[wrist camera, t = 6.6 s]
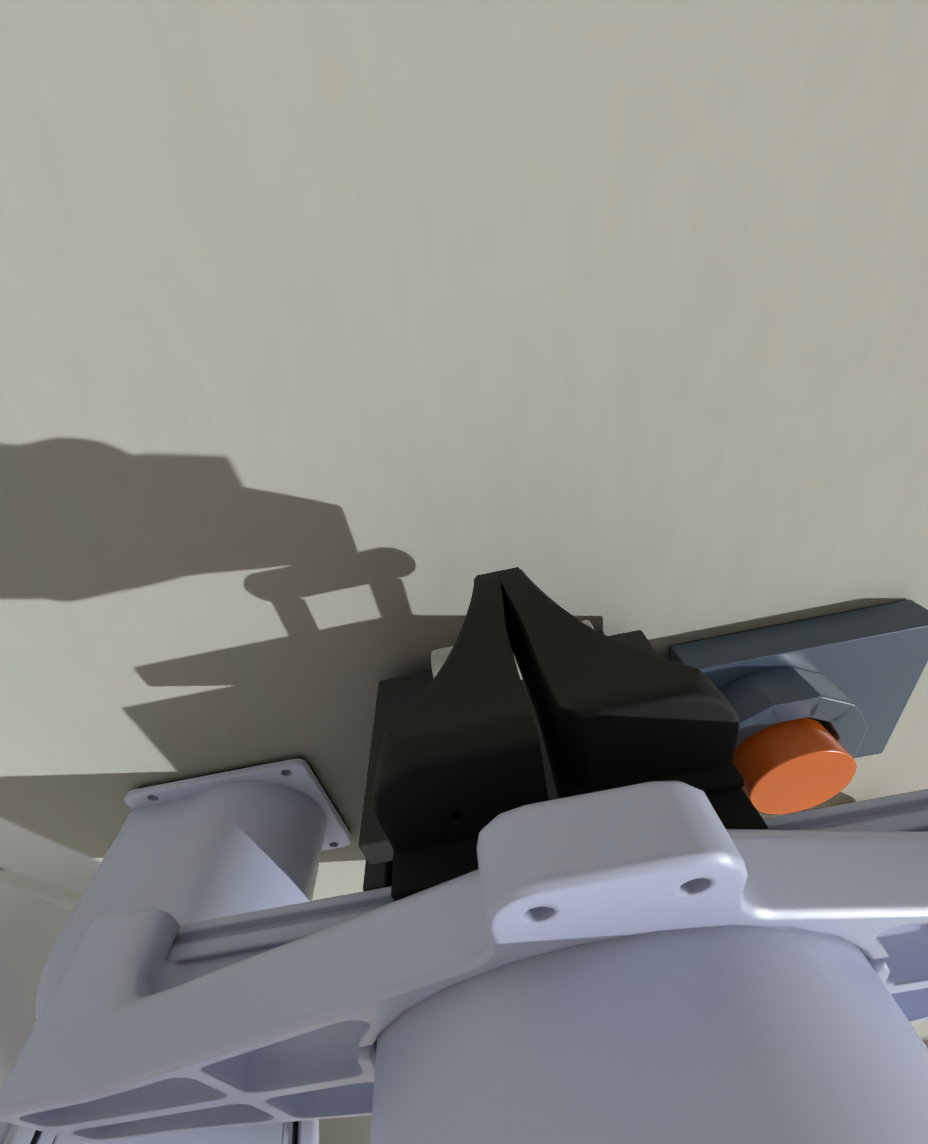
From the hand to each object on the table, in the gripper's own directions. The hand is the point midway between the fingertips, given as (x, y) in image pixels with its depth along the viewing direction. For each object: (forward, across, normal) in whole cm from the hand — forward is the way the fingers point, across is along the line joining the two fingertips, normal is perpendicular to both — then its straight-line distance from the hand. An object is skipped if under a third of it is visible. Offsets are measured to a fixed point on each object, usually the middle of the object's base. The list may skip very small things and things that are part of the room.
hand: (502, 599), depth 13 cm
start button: (+1, -11, +12) cm, 16 cm away
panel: (+4, -13, +12) cm, 18 cm away
